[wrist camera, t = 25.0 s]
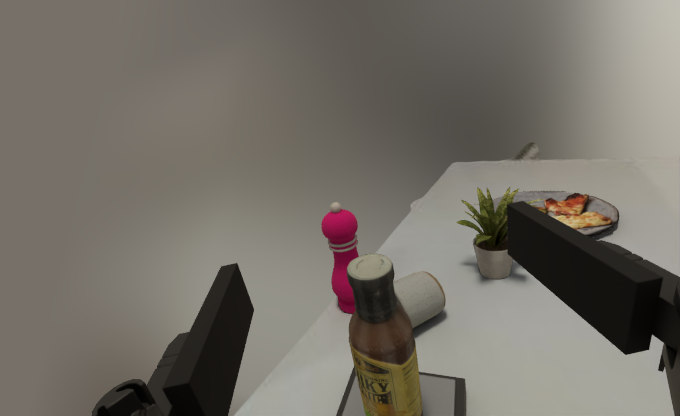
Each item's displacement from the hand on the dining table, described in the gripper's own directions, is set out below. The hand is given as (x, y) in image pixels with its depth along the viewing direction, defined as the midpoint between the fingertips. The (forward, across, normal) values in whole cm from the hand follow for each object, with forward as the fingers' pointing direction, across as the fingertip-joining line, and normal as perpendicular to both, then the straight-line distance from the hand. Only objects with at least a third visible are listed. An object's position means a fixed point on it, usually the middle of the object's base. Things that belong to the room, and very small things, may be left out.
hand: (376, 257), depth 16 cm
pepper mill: (+36, -2, -30) cm, 47 cm away
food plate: (+51, +45, -30) cm, 74 cm away
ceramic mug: (+30, +7, -30) cm, 43 cm away
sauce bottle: (+11, 0, -27) cm, 29 cm away
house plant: (+35, +24, -30) cm, 52 cm away
